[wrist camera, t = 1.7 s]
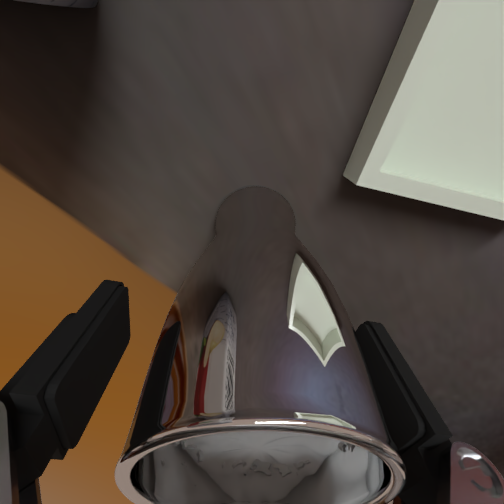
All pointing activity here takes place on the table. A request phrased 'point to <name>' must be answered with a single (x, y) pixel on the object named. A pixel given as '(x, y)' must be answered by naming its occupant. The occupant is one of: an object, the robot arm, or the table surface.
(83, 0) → the juice carton
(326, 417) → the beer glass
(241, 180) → the table surface
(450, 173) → the sage tray
